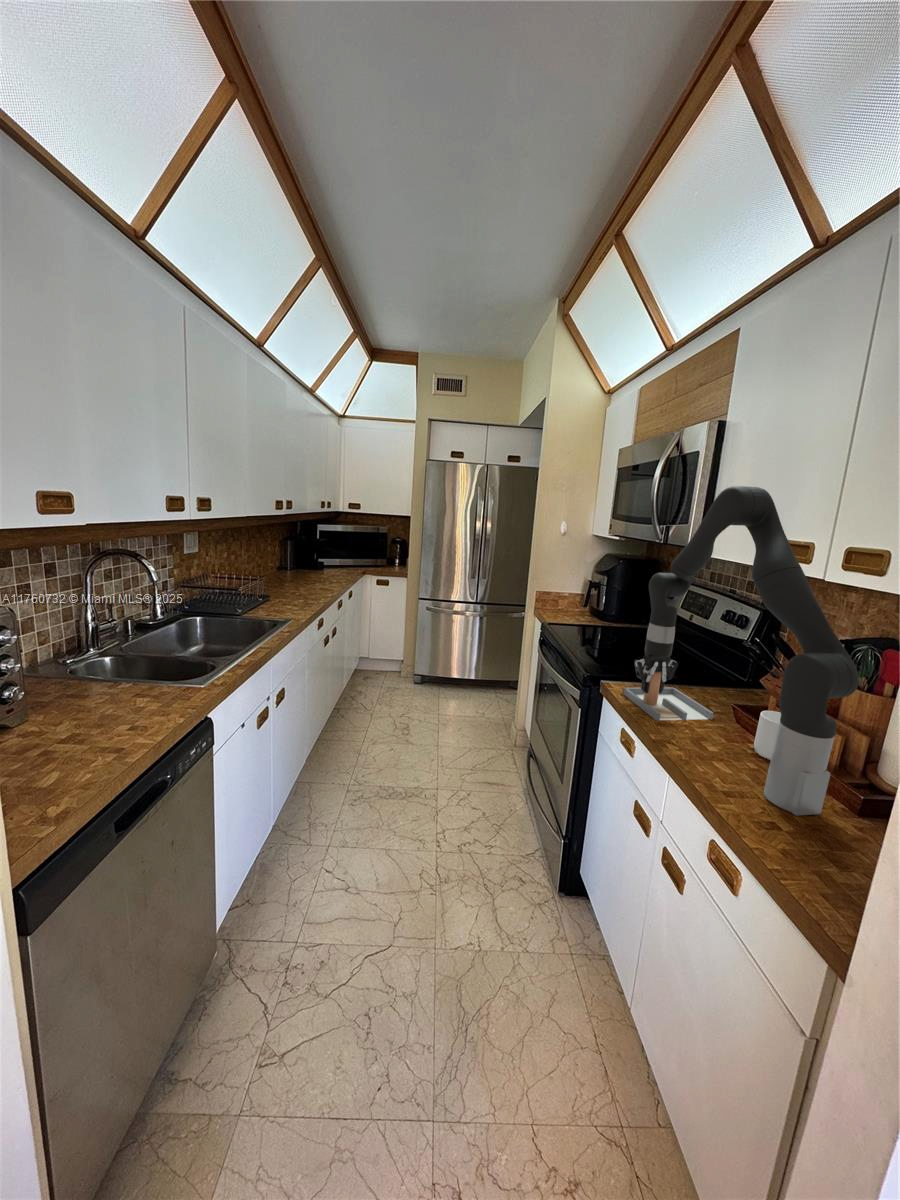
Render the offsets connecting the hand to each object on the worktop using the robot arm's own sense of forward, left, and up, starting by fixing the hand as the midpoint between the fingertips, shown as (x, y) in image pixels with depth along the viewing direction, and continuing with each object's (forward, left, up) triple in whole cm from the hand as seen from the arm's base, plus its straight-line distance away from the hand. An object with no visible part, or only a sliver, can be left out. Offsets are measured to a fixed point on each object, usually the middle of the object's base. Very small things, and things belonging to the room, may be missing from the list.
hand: (651, 692), depth 144 cm
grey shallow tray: (-1, -4, -5) cm, 7 cm away
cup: (-27, -17, -5) cm, 32 cm away
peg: (0, 0, -3) cm, 3 cm away
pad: (-7, 0, -4) cm, 8 cm away
